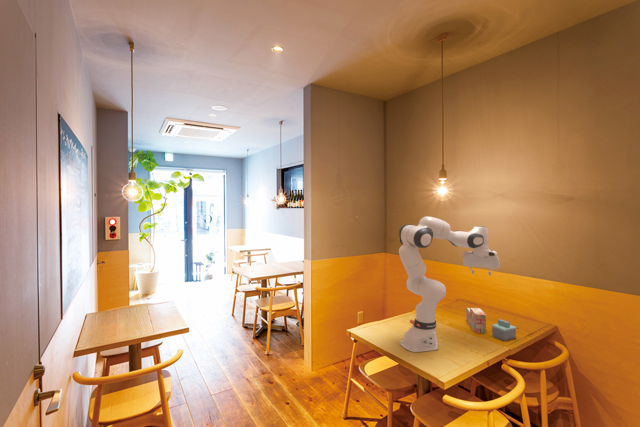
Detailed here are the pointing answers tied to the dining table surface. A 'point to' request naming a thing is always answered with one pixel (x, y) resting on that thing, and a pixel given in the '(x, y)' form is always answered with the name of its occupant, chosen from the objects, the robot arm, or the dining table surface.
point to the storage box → (504, 334)
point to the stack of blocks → (476, 319)
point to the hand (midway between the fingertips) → (481, 274)
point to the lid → (503, 325)
